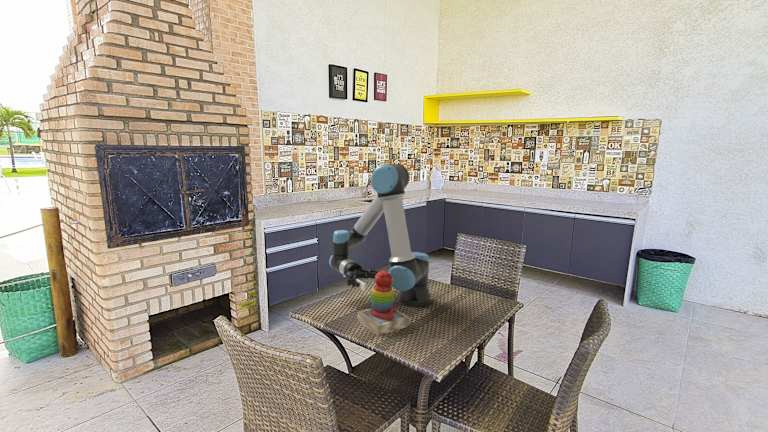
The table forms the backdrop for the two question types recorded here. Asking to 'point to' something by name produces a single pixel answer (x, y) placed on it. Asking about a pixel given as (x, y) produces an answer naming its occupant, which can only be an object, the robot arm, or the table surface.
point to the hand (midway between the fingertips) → (377, 284)
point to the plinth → (382, 322)
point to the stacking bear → (383, 297)
